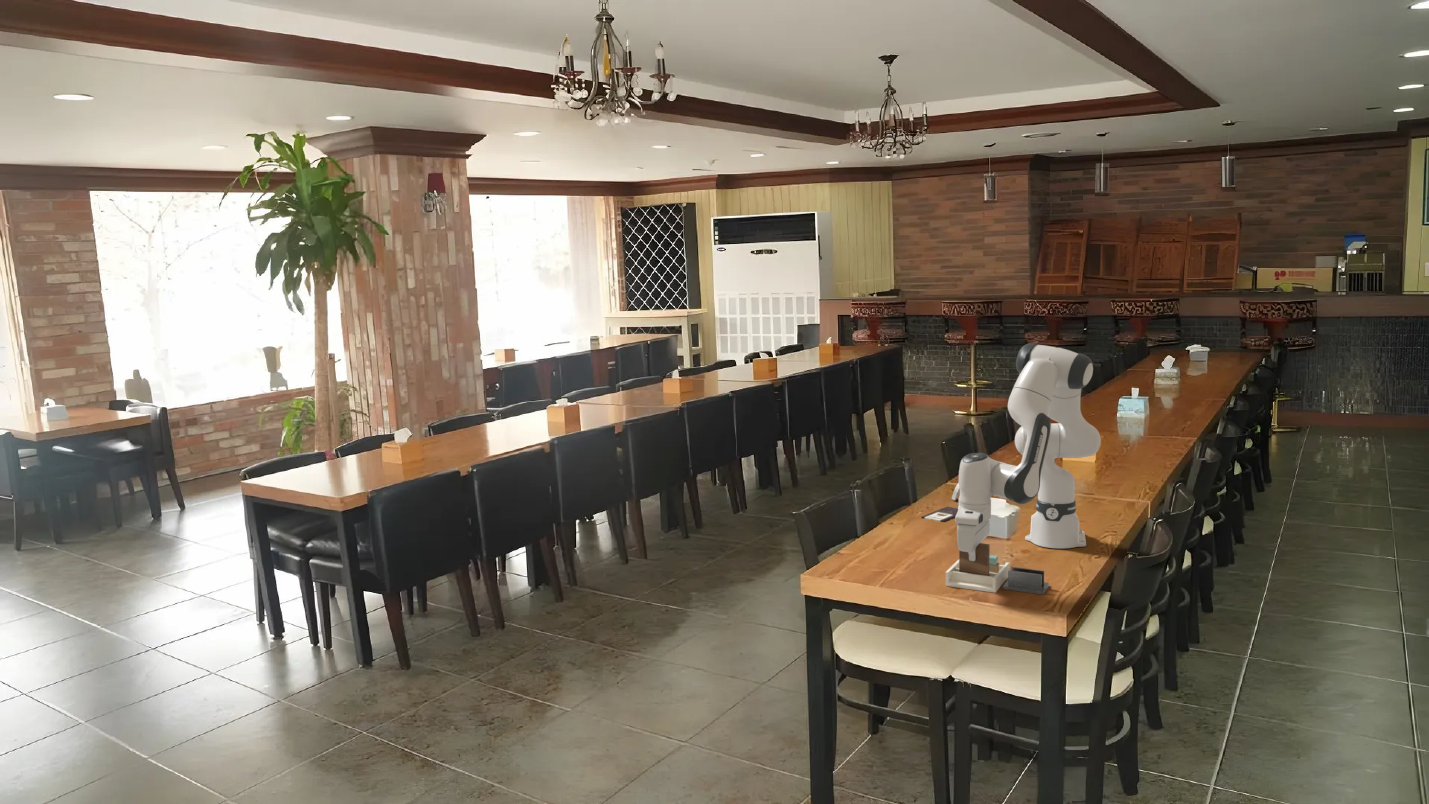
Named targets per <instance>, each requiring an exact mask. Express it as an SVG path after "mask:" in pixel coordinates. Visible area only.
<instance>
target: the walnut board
mask: <svg viewBox="0 0 1429 804" xmlns="http://www.w3.org/2000/svg"><path fill="white" fill-rule="evenodd" d="M990 546H991V545H990V544H989V543H982V542H981V543H980V544H979V545H978V546H977V547H976V554H977V559H976V560H975V561H970V560H969V554H968V552H963V551H960V550H959V549H958V550H959V551H958V557H959V558H958V559H959V572H962V573H970V574H977V575H985V576H989V556H990V555H991V554H990V551H991V550H990Z"/></svg>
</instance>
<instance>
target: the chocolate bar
mask: <svg viewBox="0 0 1429 804" xmlns="http://www.w3.org/2000/svg"><path fill="white" fill-rule="evenodd" d="M957 512H958V507H952V506H951V507H950V506H945V507H942V508H941V509H940V508H939V509H937V510H935V511H933V512H930V513H927V514H924V515H923V516H920V517H921V519H923V520H930V521H934V522H940V523H945V522H948V521H950V520H952V519H955V517H956V514H957Z"/></svg>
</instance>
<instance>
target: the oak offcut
mask: <svg viewBox="0 0 1429 804" xmlns="http://www.w3.org/2000/svg"><path fill="white" fill-rule="evenodd" d="M999 565H1000V563H999V562H998V563H997V564H996V565H989V572H991V573H998V572H999Z"/></svg>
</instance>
